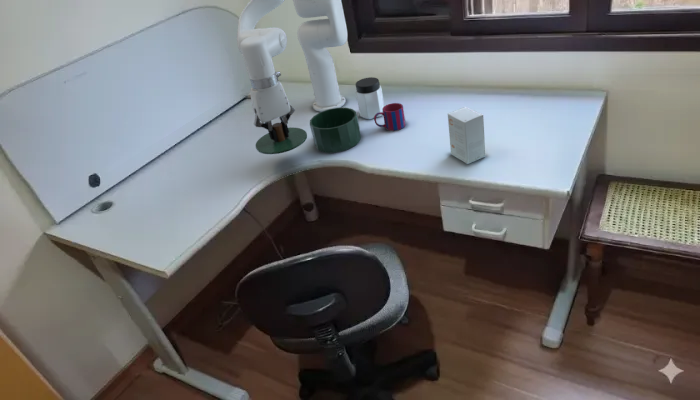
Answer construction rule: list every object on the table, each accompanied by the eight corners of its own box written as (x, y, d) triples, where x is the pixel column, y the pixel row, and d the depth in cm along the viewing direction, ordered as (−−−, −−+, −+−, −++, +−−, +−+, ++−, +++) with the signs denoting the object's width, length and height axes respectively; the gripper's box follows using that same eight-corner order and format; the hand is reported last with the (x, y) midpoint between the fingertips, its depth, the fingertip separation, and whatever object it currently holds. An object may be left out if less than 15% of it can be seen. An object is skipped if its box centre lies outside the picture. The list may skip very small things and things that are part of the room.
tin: (316, 135, 177) (310, 112, 173) (360, 127, 176) (355, 104, 171) (314, 156, 165) (308, 132, 160) (361, 148, 163) (357, 123, 159)
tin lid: (259, 135, 166) (254, 118, 162) (308, 127, 164) (304, 109, 161) (253, 160, 152) (247, 141, 149) (306, 150, 151) (301, 131, 148)
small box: (486, 156, 145) (484, 114, 138) (467, 164, 144) (464, 122, 137) (468, 146, 152) (465, 105, 145) (450, 154, 150) (446, 113, 143)
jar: (389, 111, 182) (384, 79, 175) (372, 121, 178) (366, 88, 171) (372, 106, 188) (367, 75, 181) (355, 115, 184) (349, 84, 178)
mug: (407, 127, 169) (405, 108, 165) (378, 135, 169) (374, 116, 165) (402, 119, 175) (400, 101, 171) (374, 126, 174) (370, 108, 170)
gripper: (284, 69, 153) (298, 125, 163) (233, 87, 148) (251, 144, 158) (295, 74, 148) (309, 131, 158) (242, 94, 142) (261, 152, 152)
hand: (280, 137), depth 158 cm, fingers closed on tin lid, 3 cm apart
